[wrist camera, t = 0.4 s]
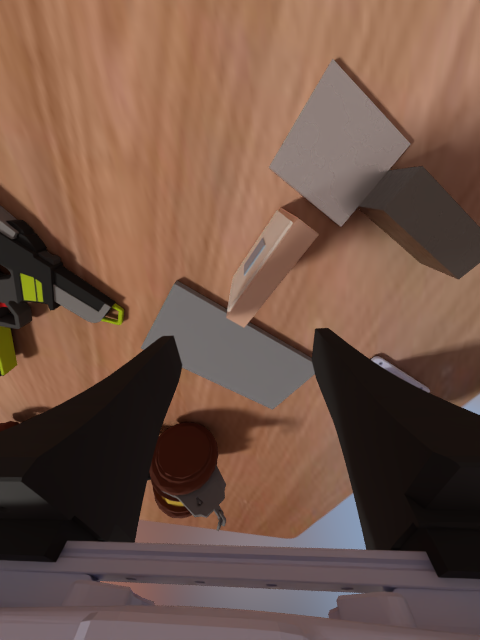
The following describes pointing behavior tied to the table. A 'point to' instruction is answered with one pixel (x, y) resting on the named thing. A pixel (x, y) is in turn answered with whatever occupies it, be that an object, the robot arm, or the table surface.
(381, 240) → the table surface
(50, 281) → the toy gun
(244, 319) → the block
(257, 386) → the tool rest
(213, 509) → the gavel
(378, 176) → the turner
